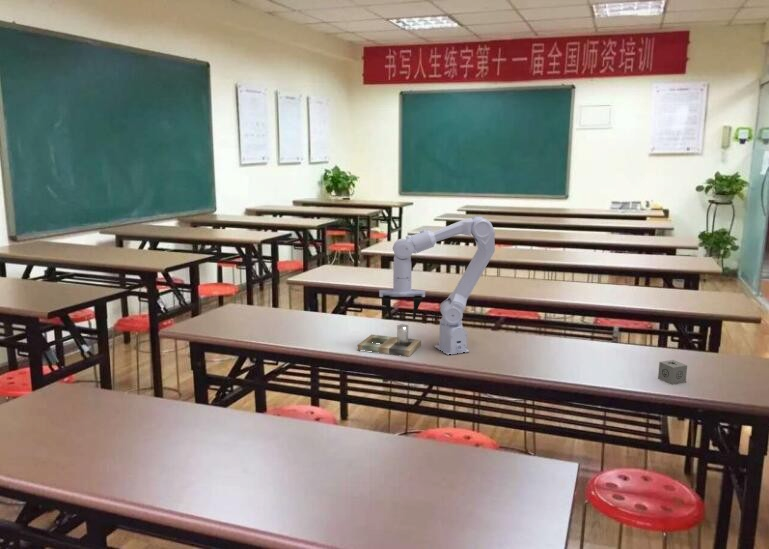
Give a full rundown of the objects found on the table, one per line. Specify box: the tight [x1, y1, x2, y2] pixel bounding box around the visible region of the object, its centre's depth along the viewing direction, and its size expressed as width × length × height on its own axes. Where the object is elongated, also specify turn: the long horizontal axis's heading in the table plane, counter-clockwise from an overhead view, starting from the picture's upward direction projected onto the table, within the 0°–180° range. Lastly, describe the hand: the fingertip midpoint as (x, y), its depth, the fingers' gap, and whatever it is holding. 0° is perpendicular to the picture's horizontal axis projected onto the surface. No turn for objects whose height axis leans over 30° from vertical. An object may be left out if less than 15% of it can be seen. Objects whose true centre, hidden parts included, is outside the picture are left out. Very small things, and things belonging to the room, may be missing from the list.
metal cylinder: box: [396, 323, 409, 347], centre depth 202 cm, size 4×4×8 cm
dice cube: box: [657, 359, 688, 386], centre depth 175 cm, size 5×5×5 cm
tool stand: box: [357, 334, 422, 358], centre depth 204 cm, size 18×12×2 cm
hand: (402, 318), depth 201 cm, fingers open, 7 cm apart
